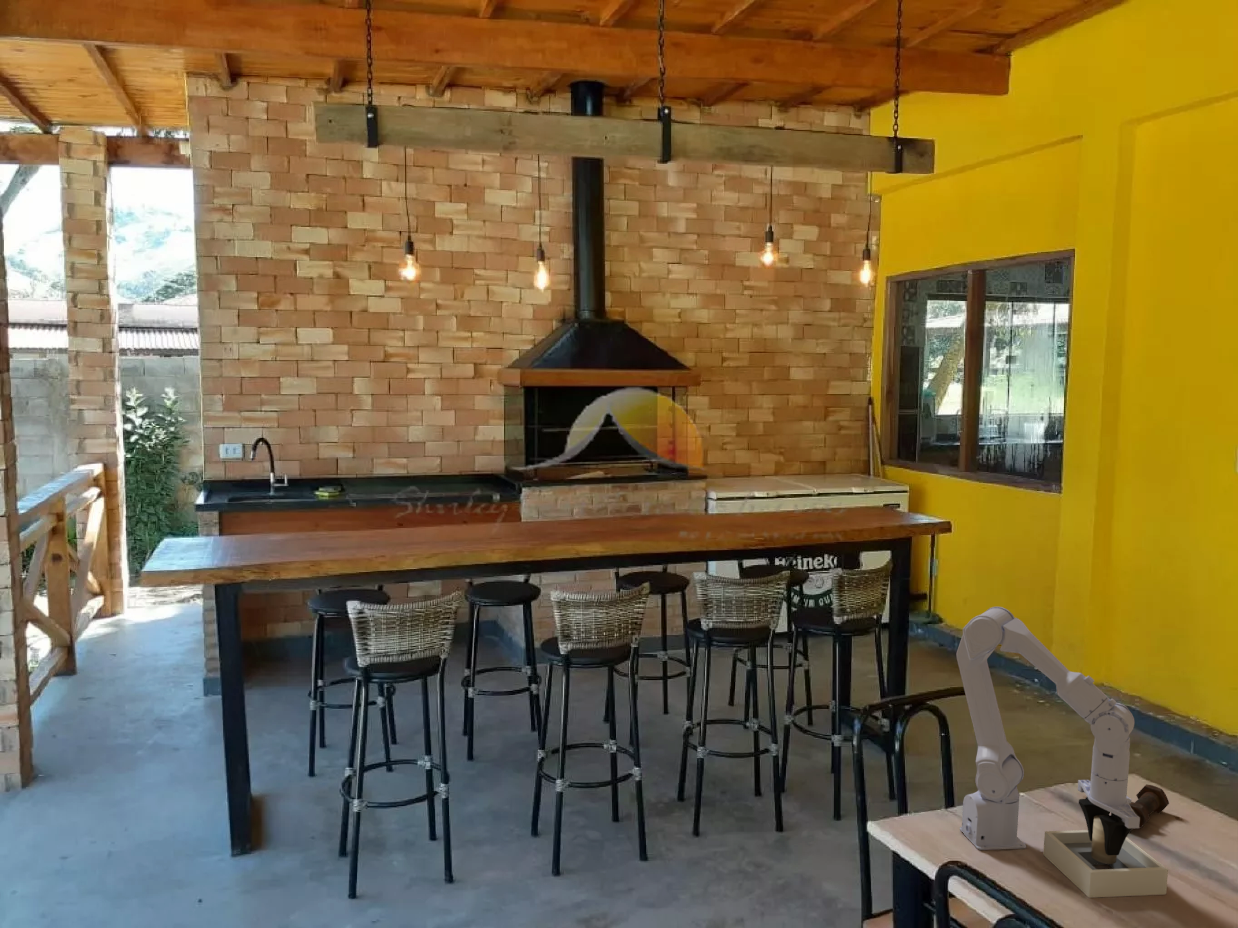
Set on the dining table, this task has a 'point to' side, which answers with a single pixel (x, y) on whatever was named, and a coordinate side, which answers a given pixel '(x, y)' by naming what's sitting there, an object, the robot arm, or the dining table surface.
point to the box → (1126, 878)
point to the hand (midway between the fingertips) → (1104, 847)
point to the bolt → (1149, 802)
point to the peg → (1100, 843)
